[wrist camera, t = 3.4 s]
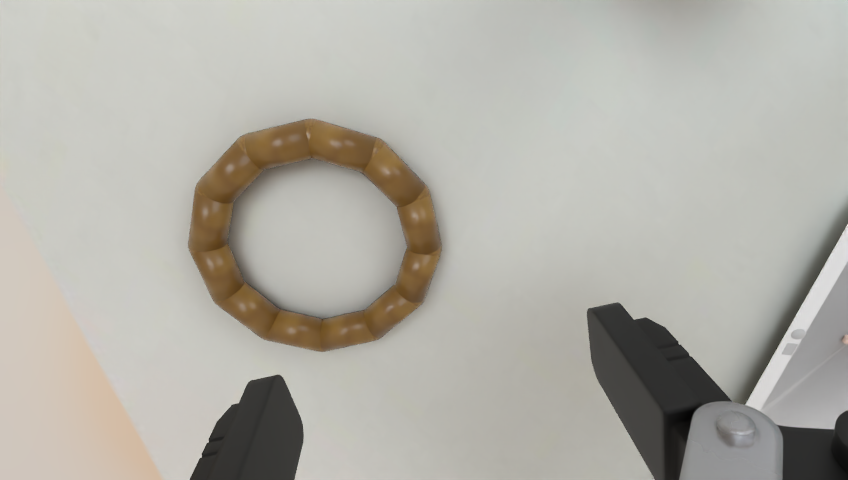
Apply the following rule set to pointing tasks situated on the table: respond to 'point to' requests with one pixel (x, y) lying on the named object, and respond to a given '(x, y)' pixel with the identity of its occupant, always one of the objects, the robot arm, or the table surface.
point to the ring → (337, 149)
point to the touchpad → (812, 355)
